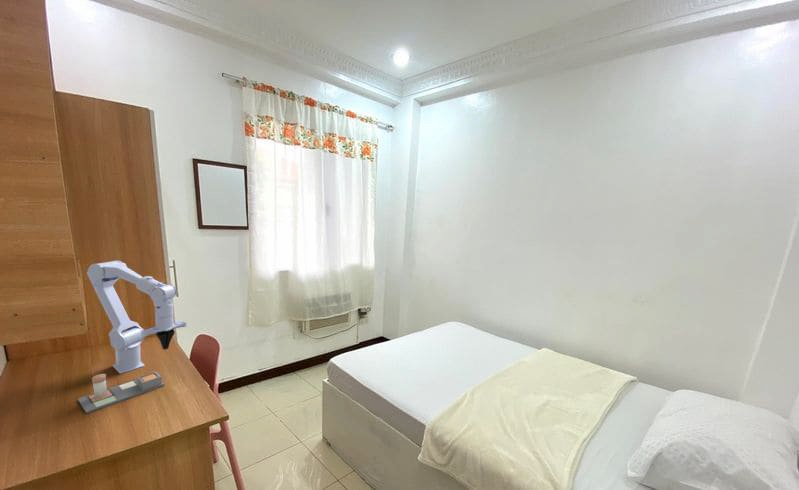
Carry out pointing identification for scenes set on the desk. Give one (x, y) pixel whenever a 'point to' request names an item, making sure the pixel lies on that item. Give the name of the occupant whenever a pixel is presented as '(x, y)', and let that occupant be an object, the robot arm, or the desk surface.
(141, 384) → the grey sorting board
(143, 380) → the button
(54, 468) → the desk surface
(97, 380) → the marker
